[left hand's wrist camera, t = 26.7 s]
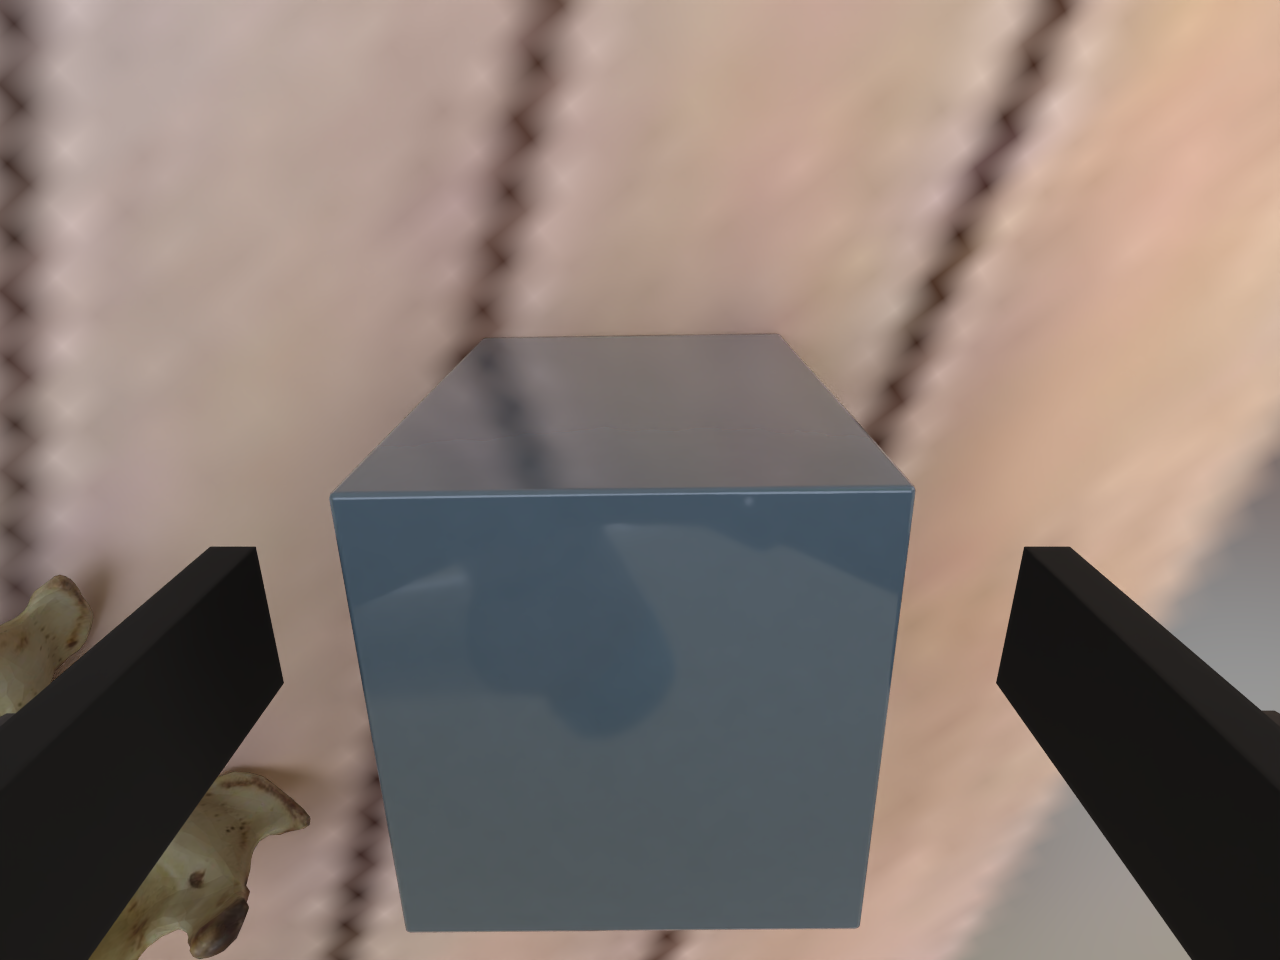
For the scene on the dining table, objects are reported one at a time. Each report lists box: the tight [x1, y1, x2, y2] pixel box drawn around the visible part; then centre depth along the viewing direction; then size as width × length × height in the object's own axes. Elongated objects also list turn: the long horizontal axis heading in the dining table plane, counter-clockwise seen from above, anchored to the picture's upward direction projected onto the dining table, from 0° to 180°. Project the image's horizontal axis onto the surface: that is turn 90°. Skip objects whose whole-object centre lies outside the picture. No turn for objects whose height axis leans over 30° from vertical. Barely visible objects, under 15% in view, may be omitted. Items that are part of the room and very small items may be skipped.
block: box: [329, 334, 916, 933], centre depth 15 cm, size 7×7×10 cm
